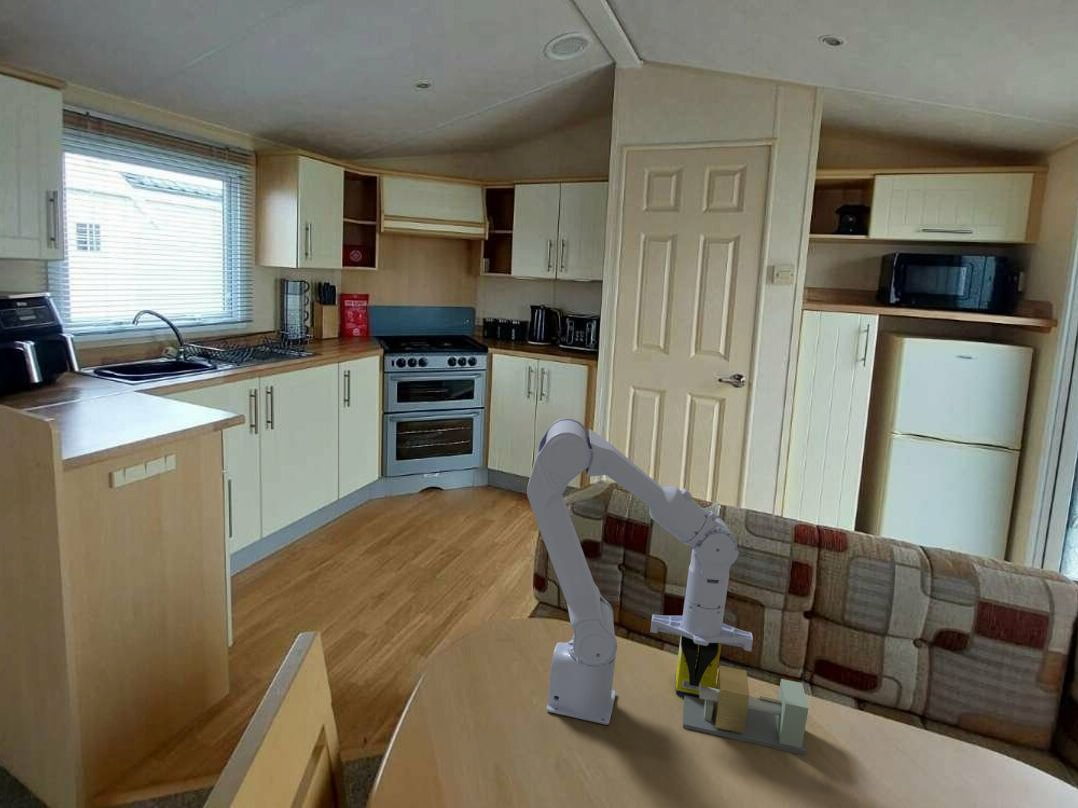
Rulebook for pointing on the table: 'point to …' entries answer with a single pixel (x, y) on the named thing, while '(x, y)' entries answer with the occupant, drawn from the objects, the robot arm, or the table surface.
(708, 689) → the shaft rig
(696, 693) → the supplement box
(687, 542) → the robot arm
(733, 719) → the block
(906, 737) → the table surface
